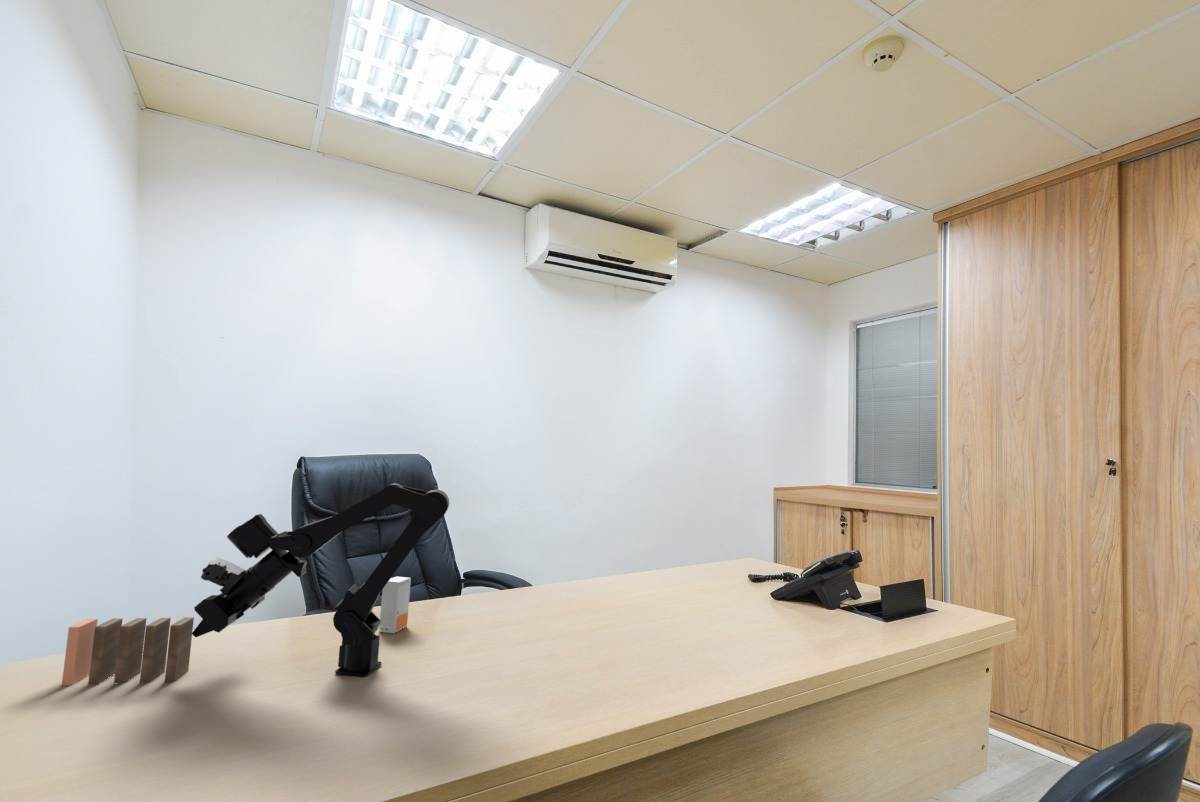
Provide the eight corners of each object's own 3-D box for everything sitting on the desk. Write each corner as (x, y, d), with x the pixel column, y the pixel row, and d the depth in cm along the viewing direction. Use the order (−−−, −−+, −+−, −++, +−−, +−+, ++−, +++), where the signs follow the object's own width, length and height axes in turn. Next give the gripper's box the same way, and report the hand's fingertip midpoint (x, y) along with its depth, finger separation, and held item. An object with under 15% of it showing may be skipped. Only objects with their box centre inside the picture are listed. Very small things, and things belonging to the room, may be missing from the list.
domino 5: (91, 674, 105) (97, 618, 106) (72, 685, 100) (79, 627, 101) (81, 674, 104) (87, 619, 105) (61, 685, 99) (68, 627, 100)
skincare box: (394, 634, 134) (398, 582, 135) (378, 632, 135) (382, 580, 136) (408, 626, 140) (411, 577, 141) (392, 625, 140) (396, 575, 142)
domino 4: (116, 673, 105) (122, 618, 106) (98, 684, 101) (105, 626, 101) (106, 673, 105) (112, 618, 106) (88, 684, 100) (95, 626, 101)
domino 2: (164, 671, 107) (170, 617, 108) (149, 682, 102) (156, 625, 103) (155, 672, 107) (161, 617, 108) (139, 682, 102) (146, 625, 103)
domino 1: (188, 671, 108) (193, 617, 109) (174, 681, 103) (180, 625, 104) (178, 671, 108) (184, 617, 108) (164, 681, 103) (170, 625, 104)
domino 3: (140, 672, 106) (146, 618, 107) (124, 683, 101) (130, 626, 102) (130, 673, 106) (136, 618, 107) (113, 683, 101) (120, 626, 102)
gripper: (254, 537, 118) (189, 591, 115) (213, 554, 100) (134, 618, 97) (291, 576, 119) (227, 631, 116) (257, 599, 101) (180, 665, 98)
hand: (194, 634), depth 106 cm, fingers closed
